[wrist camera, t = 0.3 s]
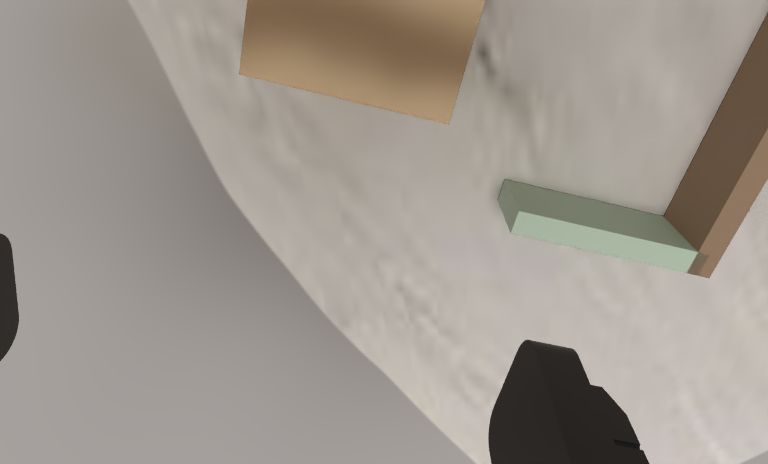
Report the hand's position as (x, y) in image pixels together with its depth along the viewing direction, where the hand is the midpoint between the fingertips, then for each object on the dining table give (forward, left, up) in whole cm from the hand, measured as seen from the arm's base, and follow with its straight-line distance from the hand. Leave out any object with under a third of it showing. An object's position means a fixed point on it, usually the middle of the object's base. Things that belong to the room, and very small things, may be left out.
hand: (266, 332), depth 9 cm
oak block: (-3, 0, -28) cm, 28 cm away
